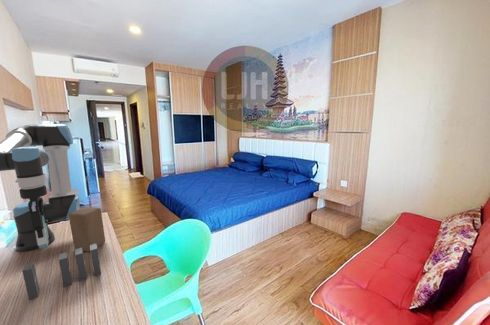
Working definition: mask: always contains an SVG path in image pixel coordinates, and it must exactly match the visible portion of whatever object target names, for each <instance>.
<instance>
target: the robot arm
mask: <svg viewBox="0 0 490 325" xmlns="http://www.w3.org/2000/svg"><path fill="white" fill-rule="evenodd" d="M73 144H74V140H73V135H72V133H71V130H70V128H69V126H68V124H67V125H66V124H64V123H61V124H60V123H45V124H44V123H43V124H42V123H41V124H40V123H39V124H35V123H33V124H27V125H22V126H19V127H16V128H14V129H12V130H11V131H8V132H7V133H6V134H5V138H4V139H2V140H1V141H0V172H4V171H5V172H6V171H15V176H16V180H15V183H18V185H17V186H18V188H19V194H20V198H21V199H23V200H29V201H25V202H21V203H19V204H17V205H16V206H15V207H14V208H13V210H12V212H13V218H14V222H15V225H16V226H15V227H16V230H17V238H16V241H15V248H16V251H18V252H27V251H34V250H37V249H39V245H43V244H47V239H46V234H45V228H44V227H43V221H42V215H44V220H45V225H46V230H47V235H48V240H49V243H48V245H49V244H50V243H52V242H54V240H55V234H54V232H53V231H52V230H51V228H50V226H49V225H48V224H49V223H55V222H59V221H66V220H67V221H68V220H69V214H70V213H73V212H75V211H77V210H80V209H81V206H80V204H81V203H80V202H81V201H80V196H76V193H75V192H73V190H72V184H71V174H70V165H69V157H68V150H70V148H71V145H73ZM38 146H40V147H42V149H40V148H39V147H38ZM47 164H48V172H49V181H50V190H51V191H50V192H51V194H50V195H49V196H48V201H44V199H43V197H44V196H45V195H47V194H48V190H47V186H46V185H45V184H46V180H45V174H44V170H43V167H45V166H47Z"/></svg>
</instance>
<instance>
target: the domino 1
mask: <svg viewBox="0 0 490 325" xmlns="http://www.w3.org/2000/svg"><path fill="white" fill-rule="evenodd" d="M35 266H36V265H35V263H34V261H31V262H28V263H25V264H24V266H23V268H22V275H23V279H24V283H25V284H24V285H25V288H26V293H27V296H28V297H27V298H28V301H30V300H33V299H36V298H38V297H39V293H40V285H39V280H38V275H37V272H36V267H35Z"/></svg>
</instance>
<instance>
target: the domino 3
mask: <svg viewBox="0 0 490 325" xmlns="http://www.w3.org/2000/svg"><path fill="white" fill-rule="evenodd" d="M58 262H59V267H60V273H61V278H62V283H63V288H66V287H68V286H71V285H73V284H72V283H73V281H72V280H73V277H72V271H71V265H70V259H69V255H68V252H67V251H66V252H65V251H64V252H62V253H59V254H58Z"/></svg>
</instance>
